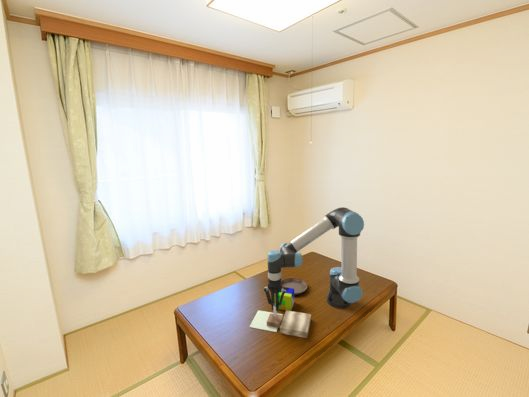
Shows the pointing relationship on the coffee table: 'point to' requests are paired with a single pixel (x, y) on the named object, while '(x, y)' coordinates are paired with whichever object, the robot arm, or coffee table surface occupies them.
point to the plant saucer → (295, 285)
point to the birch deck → (295, 324)
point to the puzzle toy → (286, 299)
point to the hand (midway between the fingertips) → (275, 314)
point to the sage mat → (262, 321)
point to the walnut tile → (274, 320)
